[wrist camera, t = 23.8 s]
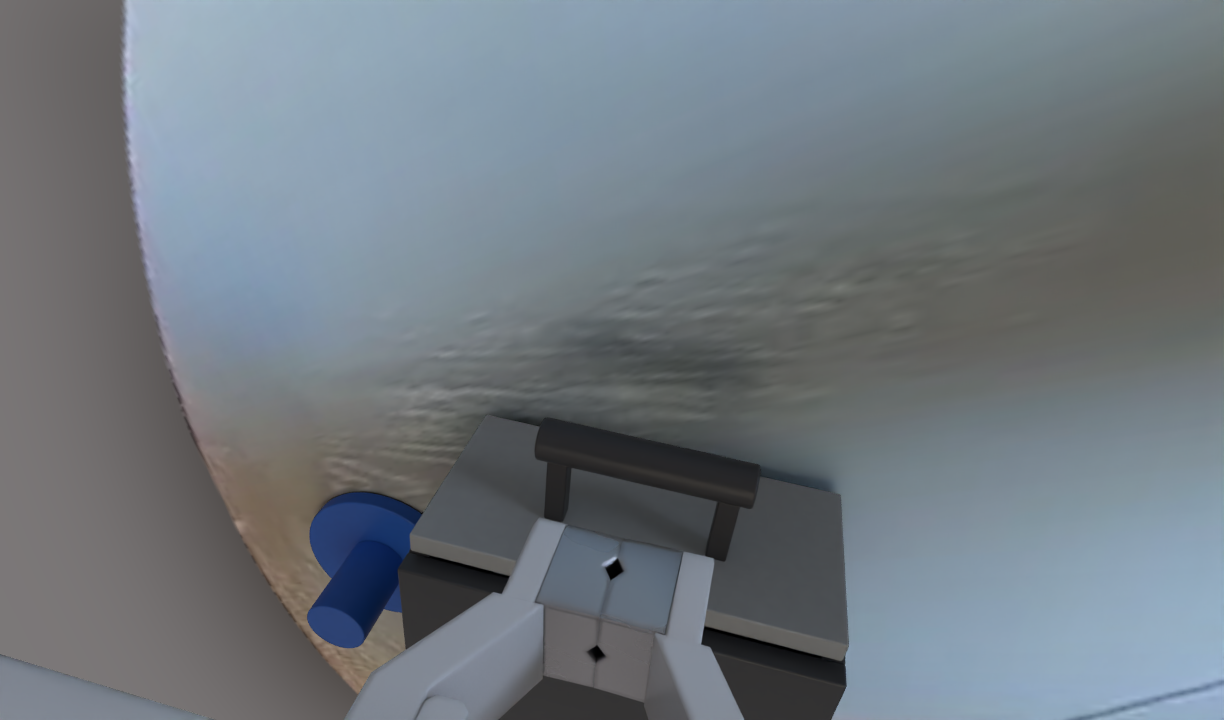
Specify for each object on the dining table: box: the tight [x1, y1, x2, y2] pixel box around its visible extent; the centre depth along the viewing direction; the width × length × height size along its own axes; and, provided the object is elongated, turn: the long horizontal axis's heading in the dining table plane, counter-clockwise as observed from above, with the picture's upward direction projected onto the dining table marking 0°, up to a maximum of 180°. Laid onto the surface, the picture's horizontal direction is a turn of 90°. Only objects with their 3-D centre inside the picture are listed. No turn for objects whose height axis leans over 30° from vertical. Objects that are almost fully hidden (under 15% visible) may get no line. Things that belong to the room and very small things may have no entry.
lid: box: [307, 492, 422, 648], centre depth 34 cm, size 8×8×5 cm
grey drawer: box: [410, 415, 849, 661], centre depth 29 cm, size 20×14×7 cm
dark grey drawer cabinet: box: [398, 548, 847, 720], centre depth 30 cm, size 17×15×8 cm
